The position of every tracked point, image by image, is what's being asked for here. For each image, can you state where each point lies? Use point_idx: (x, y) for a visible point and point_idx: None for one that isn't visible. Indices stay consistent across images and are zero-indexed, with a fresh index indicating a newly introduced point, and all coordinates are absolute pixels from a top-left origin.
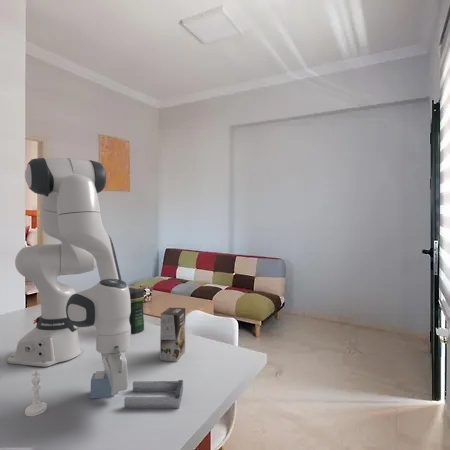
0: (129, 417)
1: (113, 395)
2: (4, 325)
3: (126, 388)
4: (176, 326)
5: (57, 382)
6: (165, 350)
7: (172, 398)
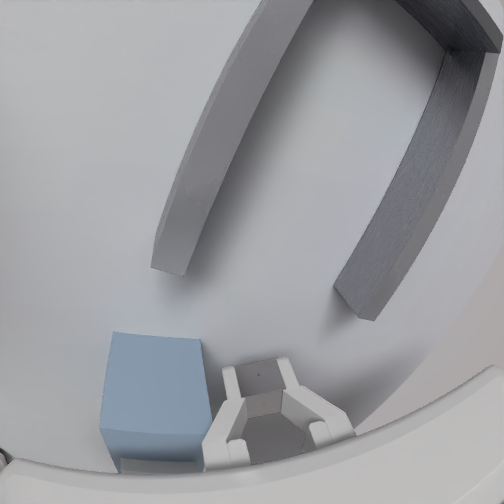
0: (414, 266)
1: (200, 344)
2: None
3: (498, 367)
4: None
5: (63, 451)
6: None
7: (492, 73)
